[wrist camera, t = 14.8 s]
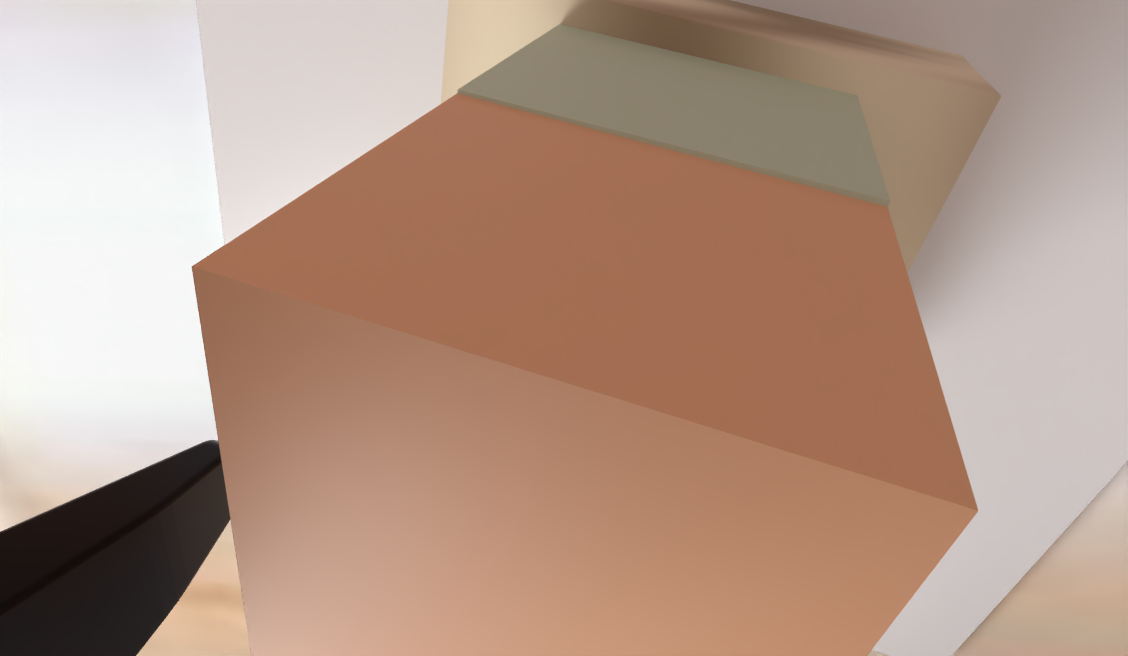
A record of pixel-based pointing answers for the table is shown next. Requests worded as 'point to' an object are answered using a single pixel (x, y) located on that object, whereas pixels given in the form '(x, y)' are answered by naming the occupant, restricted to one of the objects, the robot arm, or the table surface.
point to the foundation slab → (781, 48)
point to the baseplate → (937, 276)
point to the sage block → (692, 108)
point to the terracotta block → (573, 405)
